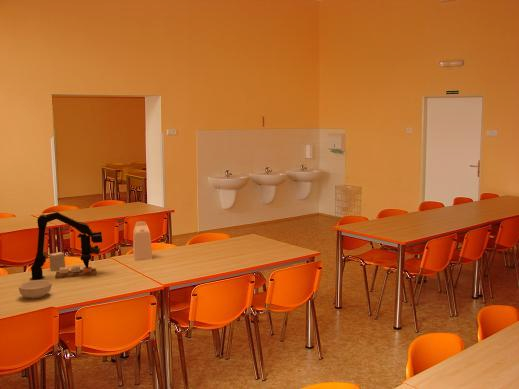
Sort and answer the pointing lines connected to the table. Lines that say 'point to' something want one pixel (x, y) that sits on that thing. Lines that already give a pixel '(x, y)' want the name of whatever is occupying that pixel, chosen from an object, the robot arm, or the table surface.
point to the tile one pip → (63, 270)
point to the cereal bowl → (35, 288)
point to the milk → (141, 242)
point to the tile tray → (75, 274)
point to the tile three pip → (87, 269)
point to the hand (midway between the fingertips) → (87, 267)
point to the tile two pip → (75, 269)
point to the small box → (56, 261)
